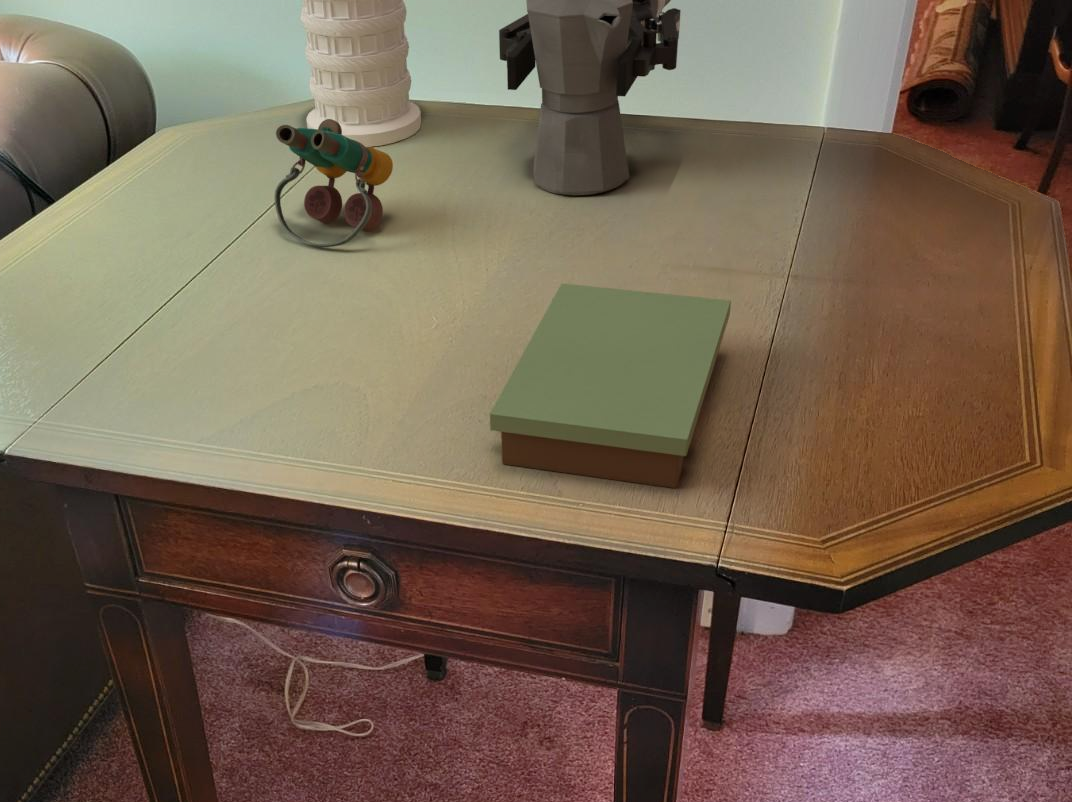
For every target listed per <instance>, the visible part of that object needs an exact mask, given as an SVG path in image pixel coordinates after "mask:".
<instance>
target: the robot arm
mask: <svg viewBox="0 0 1072 802" xmlns="http://www.w3.org/2000/svg"><path fill="white" fill-rule="evenodd" d="M632 1H633V6H632V13H631V19H630V26H629V33H628V40H627V47H626V51H625V52H624V53H623V55H622V56H621V58H620V59H619V61H618V62H617V88H616V96H618V97H626V96H627V94H628V92H629V91H630V90H631V88H632V87H633V84H634V83H635V81H636V80H637V78H638V77H641V78H642V77H647V76H649V74H650V72H651V71H653V70H655V68H656V66H657V65H661V66H662V67H661V68H662V69H664V70H667V71H672V70H675V69H677V62H678V48H679V39H680V24H681V9H679V8H675V7H674V8H673V7H672V8H670V9H667V10H666V11H665V12H664V11H663V9H664V8H665V7H666V6H667V5H668V4H669V3H671V1H672V0H632ZM498 41H499V42H498V43H499V44H498V46H499V47H498V49H499V60H501V61H504V62H506V73H507V75H506V76H507V77H506V79H507V81H506V83H507V90H508V91H517V90H518V89H519V87H520V86H521V85H522V84H523V83H524V81H525V80H526V79H527V78H528V77H529V75H530V74H531V73H532V72H533V71H534V69H535V68H536V60H535V54H534V48H533V42H532V36H531V30H530V24H529V18H528V13H527V14H525V15H523V16H521V17H519V18H518V19H516V20H513V21H512V22H511V23H509V24H507V25H505V26H504V27H502V28H500V29H499V30H498ZM657 41H658V42H657Z"/></svg>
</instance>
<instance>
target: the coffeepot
mask: <svg viewBox="0 0 1072 802" xmlns="http://www.w3.org/2000/svg"><path fill="white" fill-rule="evenodd" d="M632 6H633V1H632V0H526V12H527V14H528V18H529V24H530V30H531V36H532V42H533V48H534V54H535V67H536V72H537V77H538V83H539V88H540V89H541V103H540V109H539V118H538V127H537V136H536V142H535V143H536V144H535V149H534V151H535V153H534V157H533V158H534V159H533V166H532V167H533V168H532V170H533V184H534V185H535V186H537V187H539V188H540V189H542V190H543V191H546V192H549V193H552V194H557V195H565V196H587V195H595V194H600V193H601V194H602V193H605V192H609V191H611V190H613V189H616V188H618V187H619V186H621V185H623V184H624V183H625V182H626V181H628V180H629V179H630V172H629V165H628V158H627V151H626V145H625V138H624V130H623V123H622V115H621V108H620V102H619V96H616V88H617V62H618V61H619V59H620V58H621V56H622V55H623V53H624V52H625V51H626V47H627V40H628V33H629V26H630V19H631V13H632Z"/></svg>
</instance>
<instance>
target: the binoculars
mask: <svg viewBox="0 0 1072 802" xmlns="http://www.w3.org/2000/svg"><path fill="white" fill-rule="evenodd" d="M275 137H276V139H277V140H278V141H279V142H280V143H281V144H283V145H286V146H288V148H289V150H290V152H292V153H293V154H295V155H296V156H298V157H299V159H298V161H296V162H295V163H294V164H293V165H292V167H291V168H290V170H289V173H288V174H286V175H285V178H283V179H282V180H281V181H279V183H278V184H277V185H276V188H275V190H274V197H273V198H274V206H275V211H276V215H277V218H278V221H279V222H280V225H281V227H282V228H283V229H284V231H286V233H288V234H289V235H290V236H291V237H293V238H295V239H296V240H298V241H300V242H302V243H304V244H308V245H310V246H313V247H320V248H332V247H337V246H338V247H339V246H343V245H346V244H347V243H349V242H351V241H353V239H354V238H356V237H357V236H358V235H359V234H360V233H361V232H371V231H373V230H375V229H376V228H377V227H378V226H379V225H380V223H381V221H382V218H383V214H384V207H383V203H382V202H381V200H380V198H379V197H378V196H377V195H375V194H374V191H375V187H376V186H380V185H382V184H385V182H387V181H388V179H389V178H390V177H391V175H392V172H393V169H394V164H393V159H392V157H391V156H390V155H389V154H388V153H386V152H383V151H381V150H380V149H377V148H374V147H365V146H364V145H363V144H362V143H360V142H358V141H355V140H352V139H349V138H347V137H345V136H343V135H342V129H341V126H340V124H339V123H338V122H336V121H334V120H332V119H327V120H324V121H323V122H322V123H321V124H320V125H319V127H318V129H310V128H307V127H297V128H296V127H293V126H291V125H290V124H282V125H280V126H278V127H277V128H276V131H275ZM306 162H308V163H309V164H311V165H312V166H313V167H315V168H316V170H317V171H318V172H319V173H321V174H323V175H324V176H326V178H327V179H328V184H327V185H314V186H312V187H310V188H309V189H308V190H307V192H306V194H305V196H304V200H303V203H304V204H303V208H304V210H305V213H307V215H308V216H309V217H311V218H312V219H314V220H316V221H318V222H320V223H323V224H331V223H332V222H335V221H336V220H337V219H338V218H339V216H340V214H341V212H342V209H343V214H344V218H345V221H346V222H347V223H348V224H349V225H351V226H352V227H354V228H355V229H353V231H351V233H349V234H348V235H347V236H346V237H344V238H341V239H340V240H338V241H334V242H333V241H332V242H326V243H317V242H311V241H308V240H305V239H304V238H302V237H300V236H299V235H297V234H296V233H295V232H293V231H292V230H291V228H289V226H288V224H287V222H286V220H285V218H284V217H285V216H284V214H283V210H282V205H281V203H282V202H281V196H282V192H283V189H284V188H285V187H286V186H287V185H288V184H289V183H290V182H293V181H294V180H296V179H297V178H298V177H299V176H300V174H302V173H303V171H304V170H305V167H306ZM296 166H300V167H301V169H299V168H297V167H296ZM347 172H348V173H351V174H354V178H355V179H354V180H355V186H356V189H357V190H358V192H356V193H354V194H351V195H350V196H349V197H348V198H347V200H346V201H345V203H344V208H343V199H342V195H341V193H340V191H339V190H338V189H337V188H336V187H335V182H336V179H338V178H341V177H342V176H344V175H345V174H346V173H347ZM366 186H368V187H367V190H366Z"/></svg>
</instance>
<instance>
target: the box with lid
mask: <svg viewBox="0 0 1072 802" xmlns="http://www.w3.org/2000/svg"><path fill="white" fill-rule="evenodd" d="M731 307H732V300H730V299H720V298H712V297H711V298H710V297H701V296H700V297H699V296H690V295H681V294H671V293H661V292H653V291H652V292H650V291H642V290H630V289H620V288H613V287H612V288H610V287H601V286H591V285H581V284H571V283H561V284H560V285H559V287H558V288H557V291H556V293H555V294H554V296H553V298H552V300H551V302H550V303H549V305H548V308H547V309H546V310H545V312H544V314H543V316H542V318H541V320H540V322H539V324H538V325H537V327H536V329H535V331H534V333H533V334H532V337H531V338H530V340H529V342H528V343H527V345H526V347H525V349H524V351H523V352H522V354H521V356H520V357H519V360H518V361H517V364H516V365H515V367H514V369H513V371H512V373H511V375H510V376H509V378H508V380H507V382H506V384H505V385H504V387H503V389H502V391H501V393H500V395H499V396H498V398H497V400H496V402H495V404H494V406H493V407H492V409H491V411H490V413H489V429H490V431H493V432H500V433H501V435H500V437H501V438H500V439H501V463H502V465H506V466H514V467H521V468H528V469H535V470H542V471H543V470H544V471H549V472H550V471H551V472H558V473H563V474H572V475H578V476H586V477H593V478H599V479H600V478H601V479H608V480H615V481H622V482H628V483H636V484H641V485H649V486H657V487H663V488H671V489H672V488H673V489H676V488H677V486H678V483H679V480H680V477H681V473H682V471H683V467H684V457H687V455H688V451H689V448H690V445H691V442H692V439H693V435H694V432H695V430H696V426H697V422H698V420H699V416H700V412H701V411H702V410H701V409H702V406H703V403H704V400H705V397H706V393H707V390H708V386H709V384H710V380H711V377H712V375H713V371H714V367H715V364H716V361H717V357H718V354H719V351H720V347H721V345H722V342H723V339H724V335H725V331H726V329H727V325H728V323H729V318H730V315H731V314H730V313H731Z"/></svg>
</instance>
